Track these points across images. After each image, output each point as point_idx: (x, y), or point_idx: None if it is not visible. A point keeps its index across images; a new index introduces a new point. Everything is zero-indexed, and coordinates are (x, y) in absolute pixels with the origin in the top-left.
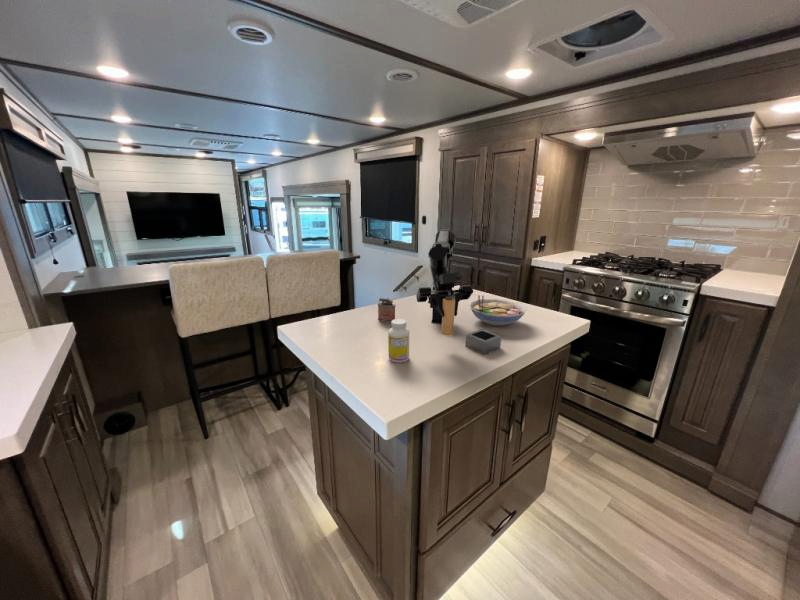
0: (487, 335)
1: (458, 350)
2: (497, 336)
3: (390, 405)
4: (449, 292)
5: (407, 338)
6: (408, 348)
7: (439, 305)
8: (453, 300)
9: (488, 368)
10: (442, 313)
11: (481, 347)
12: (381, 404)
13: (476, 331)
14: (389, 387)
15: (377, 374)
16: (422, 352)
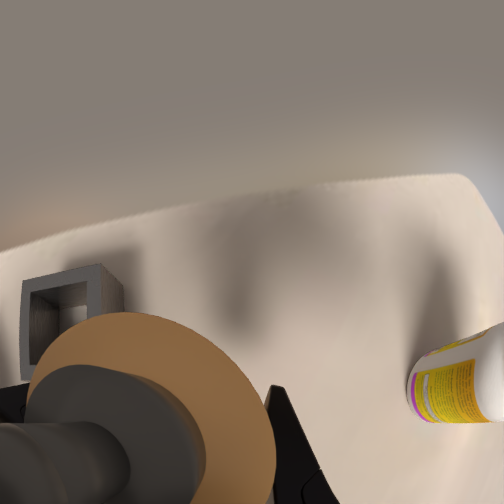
0: (36, 337)
1: None
2: (31, 286)
3: (466, 197)
4: (21, 451)
5: (478, 336)
6: (441, 355)
7: (313, 474)
8: (105, 321)
9: (186, 212)
10: (288, 399)
11: (114, 294)
12: (478, 206)
13: None
14: (471, 246)
15: (489, 309)
16: (339, 413)
